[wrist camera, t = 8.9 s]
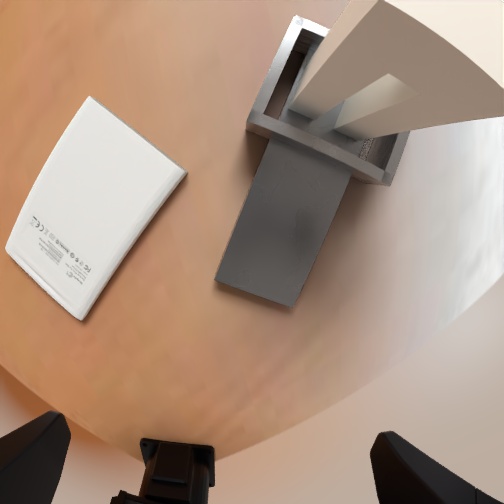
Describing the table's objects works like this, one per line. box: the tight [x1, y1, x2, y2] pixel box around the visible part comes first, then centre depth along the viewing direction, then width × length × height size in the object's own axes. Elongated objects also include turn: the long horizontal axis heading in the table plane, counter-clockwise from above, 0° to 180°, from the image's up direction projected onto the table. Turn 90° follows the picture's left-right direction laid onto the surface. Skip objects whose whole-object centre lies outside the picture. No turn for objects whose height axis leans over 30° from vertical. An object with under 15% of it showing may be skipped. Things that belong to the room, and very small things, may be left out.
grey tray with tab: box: [214, 15, 410, 308], centre depth 17 cm, size 16×8×3 cm, turn 158°
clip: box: [288, 0, 504, 141], centre depth 10 cm, size 3×4×12 cm
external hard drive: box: [5, 96, 188, 320], centre depth 18 cm, size 2×8×12 cm
